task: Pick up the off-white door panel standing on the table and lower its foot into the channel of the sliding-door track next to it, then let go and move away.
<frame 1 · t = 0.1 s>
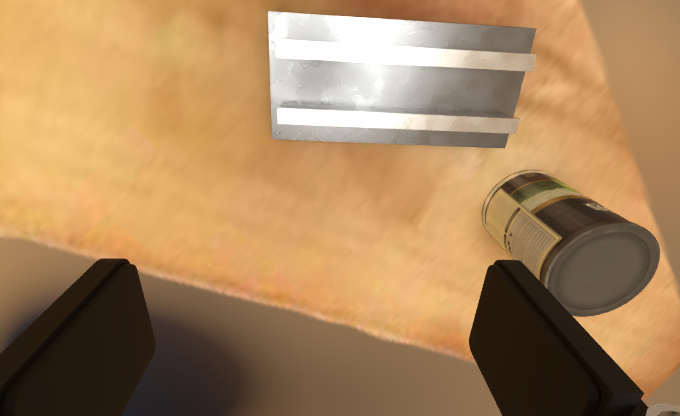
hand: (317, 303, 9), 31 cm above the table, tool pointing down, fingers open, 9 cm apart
door track: (395, 84, 37), on the table
coffee can: (520, 207, 44), on the table
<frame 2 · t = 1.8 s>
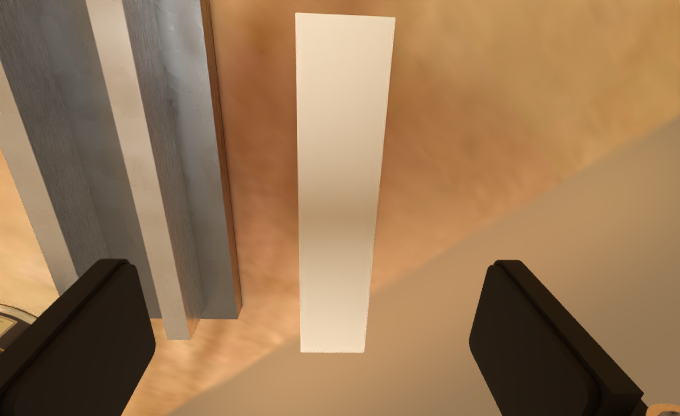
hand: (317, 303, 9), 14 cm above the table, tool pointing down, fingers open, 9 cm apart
door track: (128, 143, 22), on the table
door panel: (334, 149, 22), on the table
coffee can: (9, 346, 29), on the table
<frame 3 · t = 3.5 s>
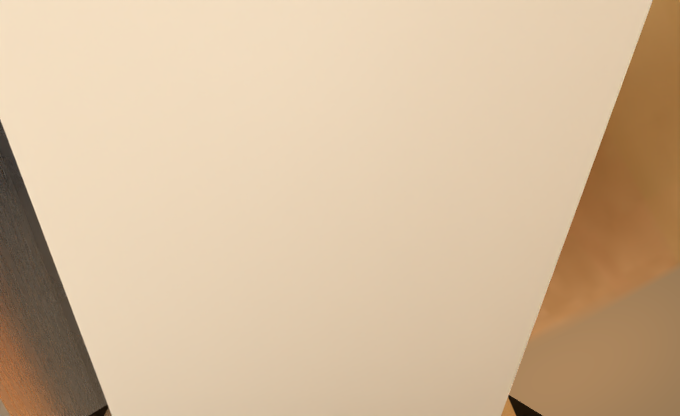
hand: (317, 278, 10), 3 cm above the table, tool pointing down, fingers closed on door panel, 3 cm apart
door panel: (318, 226, 13), on the table, touching gripper
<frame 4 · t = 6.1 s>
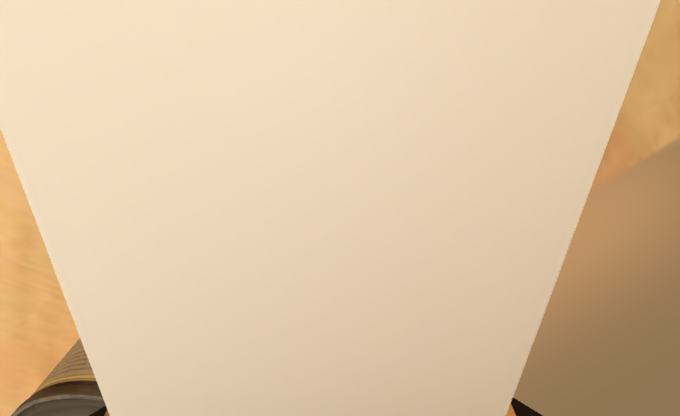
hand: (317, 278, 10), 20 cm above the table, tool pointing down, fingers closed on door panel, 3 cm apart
door panel: (318, 228, 13), point 16 cm above the table, touching gripper
coffee can: (177, 301, 35), on the table
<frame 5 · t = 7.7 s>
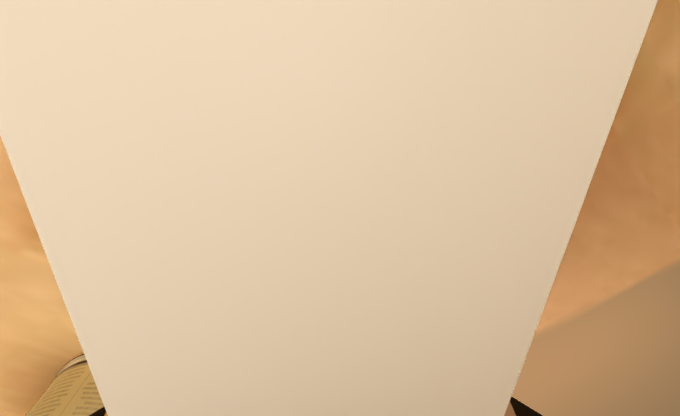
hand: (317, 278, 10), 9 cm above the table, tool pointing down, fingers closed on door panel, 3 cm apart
door panel: (318, 228, 13), point 6 cm above the table, touching gripper
coffee can: (130, 394, 26), on the table
when the fingers open (6 cm above the table, at t = 8.8 s): door panel stays where it is, resting on door track.
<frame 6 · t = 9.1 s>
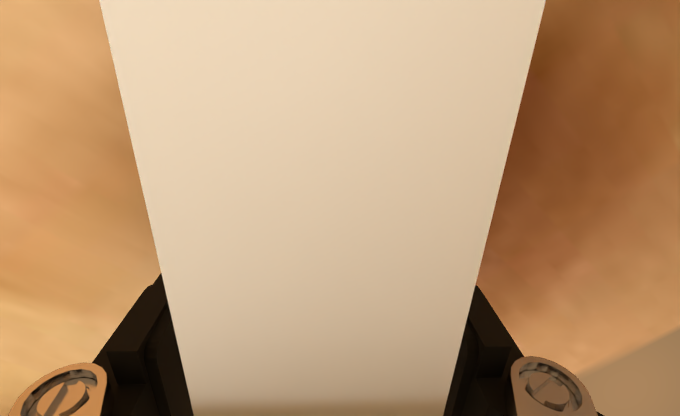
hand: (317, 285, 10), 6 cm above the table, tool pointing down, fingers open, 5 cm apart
door panel: (320, 215, 14), point 1 cm above the table, touching door track
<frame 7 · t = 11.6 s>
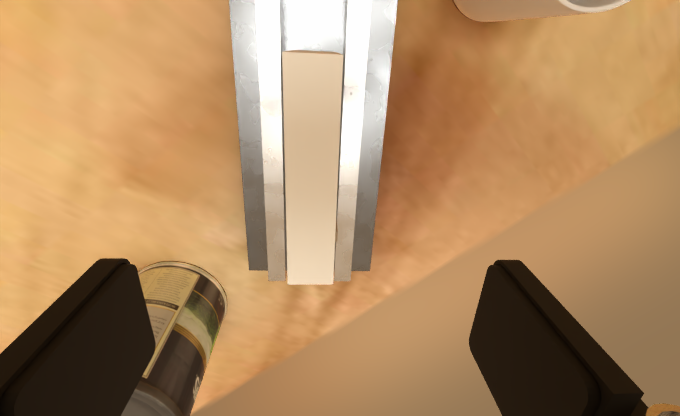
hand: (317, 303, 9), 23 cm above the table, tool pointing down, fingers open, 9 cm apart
door track: (312, 138, 30), on the table
door panel: (313, 142, 29), point 1 cm above the table, touching door track
coffee can: (179, 298, 37), on the table
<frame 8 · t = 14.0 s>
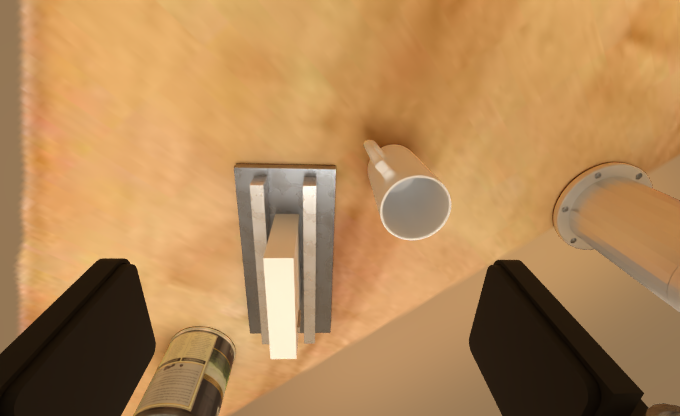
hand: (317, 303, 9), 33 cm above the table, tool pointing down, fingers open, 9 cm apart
door track: (289, 254, 48), on the table
door panel: (288, 260, 46), point 1 cm above the table, touching door track
coffee can: (203, 349, 55), on the table
mug: (383, 158, 43), on the table
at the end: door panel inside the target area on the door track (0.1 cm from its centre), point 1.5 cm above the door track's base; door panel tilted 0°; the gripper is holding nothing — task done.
